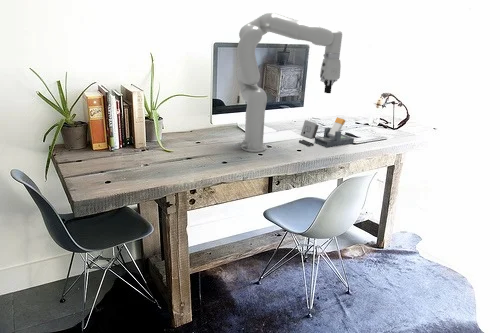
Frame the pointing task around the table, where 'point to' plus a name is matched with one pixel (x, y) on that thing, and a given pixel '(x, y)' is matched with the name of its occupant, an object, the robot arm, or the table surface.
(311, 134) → the electrical switch
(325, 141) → the double window frame
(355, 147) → the table surface
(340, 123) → the breaker lever
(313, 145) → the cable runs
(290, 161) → the table surface
